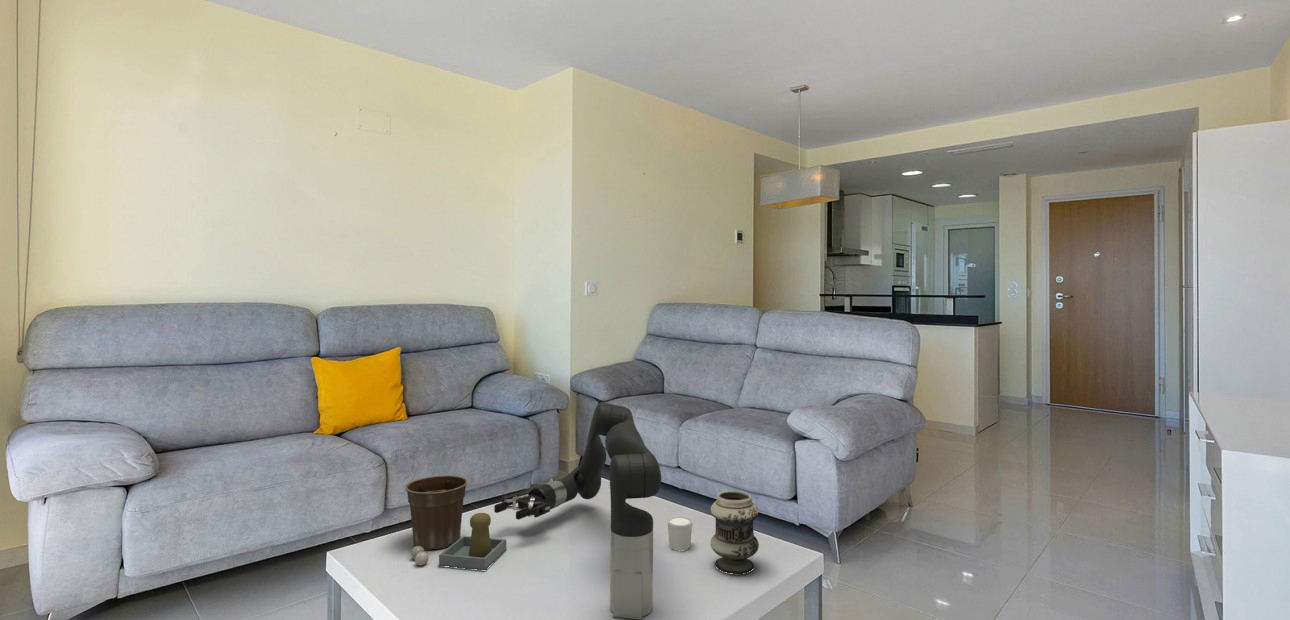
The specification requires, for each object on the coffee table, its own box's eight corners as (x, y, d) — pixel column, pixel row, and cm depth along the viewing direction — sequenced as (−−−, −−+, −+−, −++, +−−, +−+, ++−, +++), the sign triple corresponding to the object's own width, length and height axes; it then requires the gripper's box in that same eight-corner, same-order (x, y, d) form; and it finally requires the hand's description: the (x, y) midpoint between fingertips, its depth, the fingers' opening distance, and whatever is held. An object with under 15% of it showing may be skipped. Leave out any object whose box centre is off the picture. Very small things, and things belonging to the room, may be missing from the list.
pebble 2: (424, 568, 148) (424, 555, 148) (412, 567, 148) (412, 554, 148) (431, 562, 151) (431, 550, 151) (419, 561, 151) (419, 549, 151)
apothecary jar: (729, 551, 158) (730, 484, 158) (768, 566, 150) (768, 495, 149) (700, 565, 150) (700, 494, 150) (739, 582, 141) (739, 506, 141)
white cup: (690, 553, 157) (690, 526, 157) (665, 551, 159) (665, 524, 159) (693, 542, 164) (694, 517, 164) (669, 540, 165) (669, 515, 165)
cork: (463, 559, 152) (462, 516, 151) (479, 550, 157) (479, 508, 157) (481, 564, 149) (481, 520, 149) (497, 554, 154) (497, 512, 154)
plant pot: (405, 534, 169) (405, 477, 169) (465, 527, 175) (465, 472, 174) (404, 557, 154) (404, 495, 153) (469, 549, 159) (469, 489, 159)
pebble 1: (419, 561, 151) (419, 549, 151) (408, 560, 152) (408, 548, 152) (426, 556, 154) (426, 544, 154) (415, 555, 155) (415, 543, 155)
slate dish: (485, 571, 146) (485, 559, 146) (438, 566, 148) (438, 554, 148) (506, 550, 158) (506, 539, 158) (463, 546, 161) (463, 535, 161)
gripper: (530, 479, 180) (488, 493, 166) (565, 488, 171) (524, 504, 158) (530, 504, 180) (488, 520, 166) (565, 514, 172) (524, 532, 158)
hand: (505, 512), depth 162 cm, fingers open, 8 cm apart
